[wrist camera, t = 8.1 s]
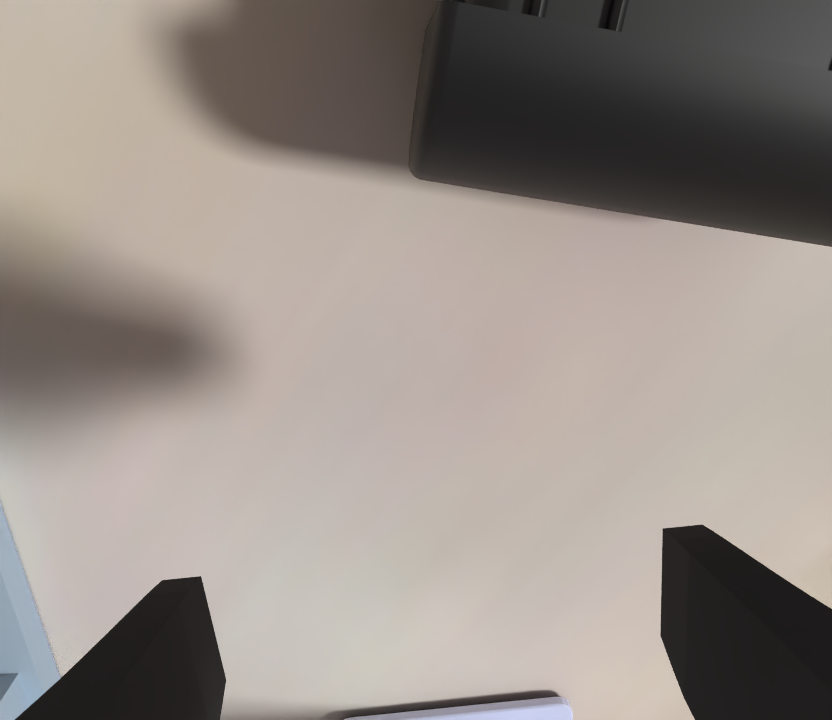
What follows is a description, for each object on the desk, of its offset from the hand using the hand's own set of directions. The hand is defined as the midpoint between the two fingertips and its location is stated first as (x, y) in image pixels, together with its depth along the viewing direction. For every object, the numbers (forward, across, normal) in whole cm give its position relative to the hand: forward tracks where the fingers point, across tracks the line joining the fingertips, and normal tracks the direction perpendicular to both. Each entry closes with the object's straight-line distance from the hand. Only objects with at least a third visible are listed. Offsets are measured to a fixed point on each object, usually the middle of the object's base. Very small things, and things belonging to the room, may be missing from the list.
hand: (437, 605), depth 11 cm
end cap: (+10, -6, -8) cm, 14 cm away
